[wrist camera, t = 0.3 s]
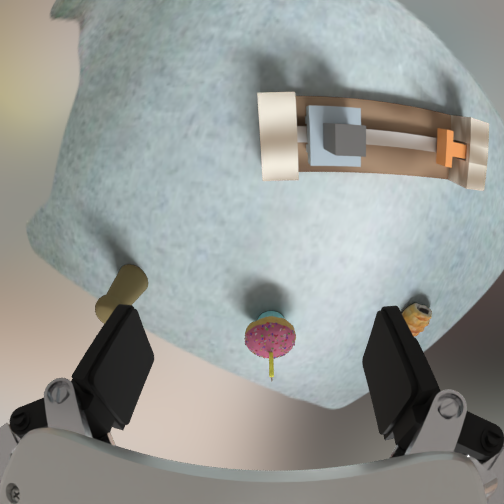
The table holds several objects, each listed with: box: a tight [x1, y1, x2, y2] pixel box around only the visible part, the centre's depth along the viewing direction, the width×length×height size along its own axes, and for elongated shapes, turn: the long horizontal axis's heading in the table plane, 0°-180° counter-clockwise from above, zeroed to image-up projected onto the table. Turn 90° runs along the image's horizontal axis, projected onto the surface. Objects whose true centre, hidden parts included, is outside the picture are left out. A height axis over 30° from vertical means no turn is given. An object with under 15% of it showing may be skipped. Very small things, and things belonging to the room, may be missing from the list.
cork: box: [95, 264, 148, 324], centre depth 40 cm, size 6×6×11 cm
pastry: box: [402, 303, 432, 337], centre depth 45 cm, size 9×7×4 cm
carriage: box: [305, 105, 366, 167], centre depth 26 cm, size 7×6×10 cm
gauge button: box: [436, 128, 467, 168], centre depth 27 cm, size 5×6×2 cm
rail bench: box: [257, 92, 489, 191], centre depth 29 cm, size 10×32×6 cm, turn 94°
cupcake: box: [244, 311, 296, 382], centre depth 42 cm, size 9×8×12 cm
